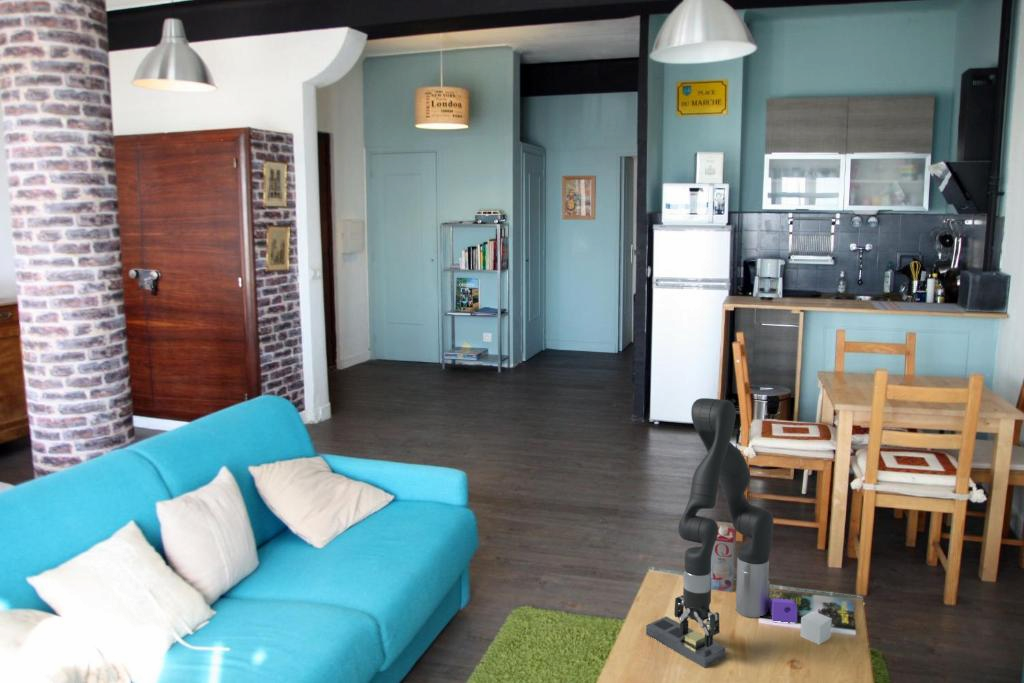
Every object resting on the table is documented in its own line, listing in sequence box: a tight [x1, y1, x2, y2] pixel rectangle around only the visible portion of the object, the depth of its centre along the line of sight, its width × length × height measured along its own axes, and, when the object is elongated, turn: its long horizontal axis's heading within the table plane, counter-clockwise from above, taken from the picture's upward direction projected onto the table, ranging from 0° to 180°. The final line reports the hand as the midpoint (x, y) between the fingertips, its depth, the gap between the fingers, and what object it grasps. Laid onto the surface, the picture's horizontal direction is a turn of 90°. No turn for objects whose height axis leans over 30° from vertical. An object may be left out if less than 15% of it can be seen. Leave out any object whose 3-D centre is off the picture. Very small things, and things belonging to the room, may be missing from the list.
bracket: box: [769, 598, 798, 624], centre depth 257 cm, size 12×7×7 cm, turn 170°
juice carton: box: [711, 520, 737, 593], centre depth 274 cm, size 7×7×22 cm
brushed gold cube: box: [685, 630, 705, 650], centre depth 237 cm, size 4×5×5 cm
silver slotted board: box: [645, 615, 726, 669], centre depth 240 cm, size 8×22×3 cm, turn 37°
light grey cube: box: [800, 610, 833, 645], centre depth 243 cm, size 6×6×6 cm
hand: (696, 639), depth 237 cm, fingers open, 8 cm apart
